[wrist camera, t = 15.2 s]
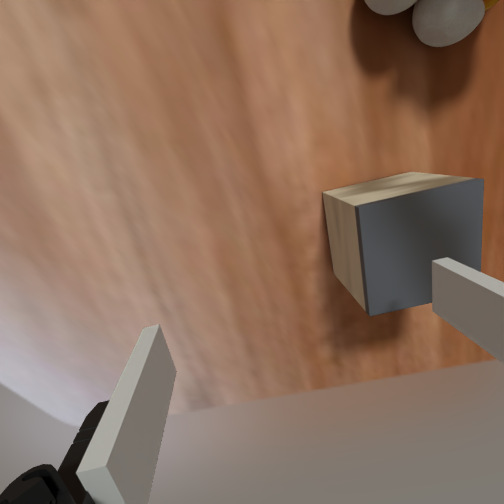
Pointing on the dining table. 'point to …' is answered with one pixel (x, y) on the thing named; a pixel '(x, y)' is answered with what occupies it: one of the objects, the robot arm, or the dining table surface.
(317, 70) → the dining table surface
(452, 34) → the rainbow segmented toy
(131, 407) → the robot arm
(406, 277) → the birch cube
